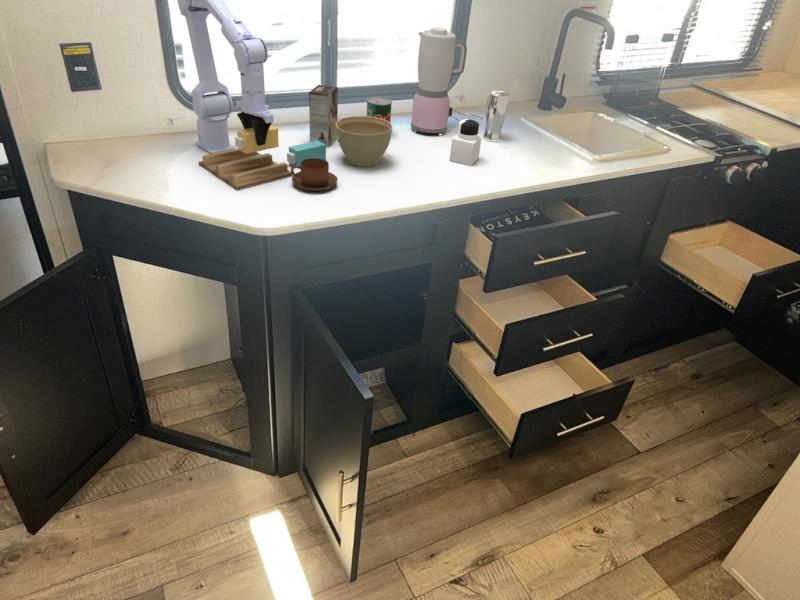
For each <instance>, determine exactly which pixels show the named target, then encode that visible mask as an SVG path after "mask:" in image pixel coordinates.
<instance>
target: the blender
mask: <svg viewBox="0 0 800 600" xmlns="http://www.w3.org/2000/svg"><path fill="white" fill-rule="evenodd" d="M418 35H419V37H420V40H419V47H418V55H417V56H418V58H417V79H418V88H417V91H416V93H415V95H414V97H413V102H412V113H411V121H410V126H411V129H412V132H413V131H414V132H417V133H418V132H421V133H430V134H437V135H438V134H443V135H444V133H445V132H446V131H447V129H448V120H449V117H452V114H453V107H451V106H450V104H451V101H450V100H451V99H450V98H449V97H450V96H449V93H448V87H449V85H450V84H449V83H450V81H451V80H450V79H451V76H454V75H456V76H458V75H462V74H463V73H464V70H465V67H466V66H465V65H466V60H467V59H466V58H467V54H468V53H467V52H468V47H467V45H466V43H465V42H464V41H463V40H458V39H457V37H456V35H455V34H454V33H453V32H450V31H448V29H447V28H444V27H431V28H430V30H423V31H422V32H418ZM456 47H459V48H460V49H461V53H460V57H459V58H460V61H459V65H458V66H459V67H458V68H455V69H453V68H454V61H455V60H454V59H455V51H456ZM414 132H413V133H414Z"/></svg>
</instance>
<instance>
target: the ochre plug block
mask: <svg viewBox="0 0 800 600" xmlns="http://www.w3.org/2000/svg"><path fill="white" fill-rule="evenodd" d="M234 144H235V147H236V148H238V149H239V150H240V151H242V152H244V153H246V154H248V153H253V152H258V153H259V152H261V151H266V150H272V149H275V148H279V147H280V146H279V128H277V127H276V126H274V125H272V124H271V125H270V127H269V130H268V133H267V137H266V142H265V145H260V146H258V145H257V143H256V138H255V132H254V129H253V128H249V129H244V128H243V129H239V130H236V136H235V137H234Z"/></svg>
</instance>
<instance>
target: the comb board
mask: <svg viewBox="0 0 800 600" xmlns="http://www.w3.org/2000/svg"><path fill="white" fill-rule="evenodd" d="M201 157H202V160H200V161H198V165H199V166H200V167H201V168H202V169H204V170H206V171H207V172H209V173H210V174H212V175H213V176H215V177H217V179H219V180H221V181H222V182H224V183H226V184H227V185H228V186H230V187H231V188H233V189H234V190H236V191H240V190H244V189H249V188H252V187H256V186H259V185H260V186H261V185H263V184H267V183H270V182H274V181H278V180H282V179H285V178H289V177H292V176H293V175H292V173H291V170H289V169H288V164H287V163H286V162H280V163H277V162H274V161H273V155H272V154H270V153H262V154H261V153H259V151H258V152H253V153H248V154H246V153H244V152H242V151H240V150H239V149H238V147H236V149H232V150H227V151H223V152H218V153H213V154H211V153H209V154H206V155H202V156H201Z"/></svg>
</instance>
